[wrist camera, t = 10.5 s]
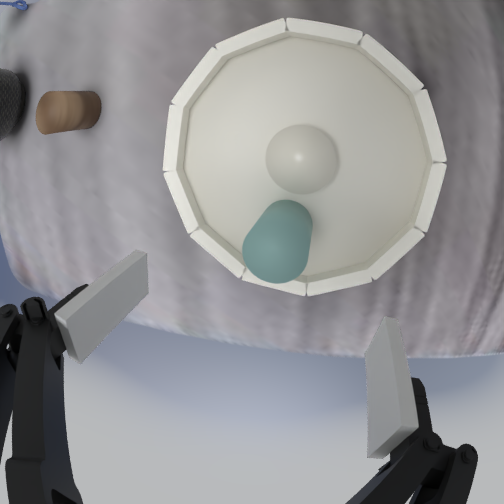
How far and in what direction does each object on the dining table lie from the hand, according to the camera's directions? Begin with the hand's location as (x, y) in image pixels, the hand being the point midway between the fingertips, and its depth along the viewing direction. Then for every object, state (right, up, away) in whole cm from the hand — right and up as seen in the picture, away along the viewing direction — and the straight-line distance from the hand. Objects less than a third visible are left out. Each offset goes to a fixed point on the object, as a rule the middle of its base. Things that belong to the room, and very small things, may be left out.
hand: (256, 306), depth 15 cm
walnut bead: (-21, +21, +14) cm, 33 cm away
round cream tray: (+4, +12, +11) cm, 17 cm away
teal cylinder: (+3, +5, +13) cm, 14 cm away
